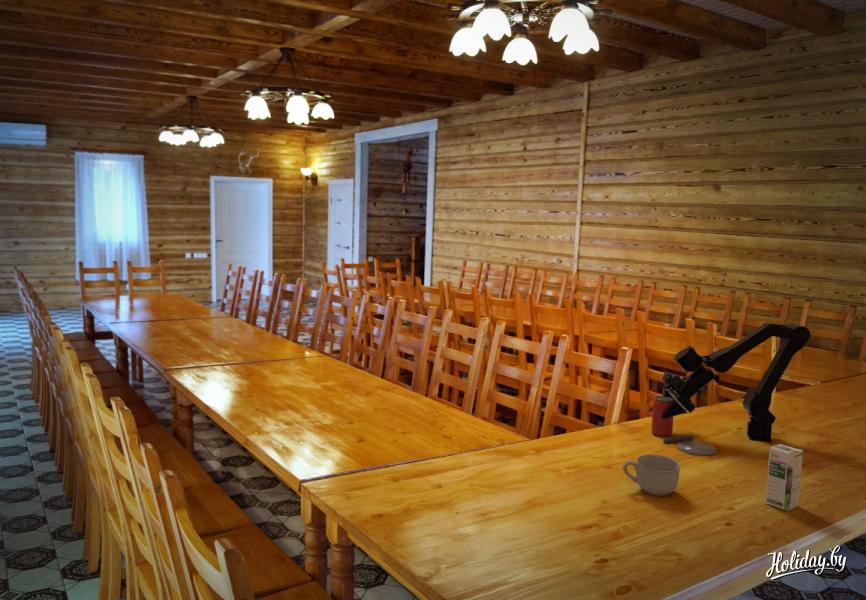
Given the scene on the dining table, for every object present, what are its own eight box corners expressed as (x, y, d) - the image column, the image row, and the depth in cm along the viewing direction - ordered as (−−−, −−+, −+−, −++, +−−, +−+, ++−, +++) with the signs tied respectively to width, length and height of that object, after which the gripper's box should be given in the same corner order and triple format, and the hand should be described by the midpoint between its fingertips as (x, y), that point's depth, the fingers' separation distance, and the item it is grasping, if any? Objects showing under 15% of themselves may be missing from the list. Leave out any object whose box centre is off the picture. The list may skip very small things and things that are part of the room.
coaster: (714, 445, 207) (714, 443, 207) (717, 457, 197) (717, 454, 197) (676, 441, 211) (676, 439, 211) (677, 452, 200) (677, 450, 200)
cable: (689, 439, 214) (689, 434, 213) (692, 441, 212) (692, 436, 212) (662, 443, 210) (662, 438, 210) (665, 444, 208) (665, 439, 208)
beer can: (673, 437, 214) (675, 401, 213) (652, 436, 216) (654, 400, 214) (670, 431, 221) (672, 396, 219) (650, 430, 222) (652, 395, 221)
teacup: (678, 486, 175) (679, 457, 174) (679, 502, 165) (680, 471, 164) (623, 479, 180) (624, 450, 179) (621, 494, 169) (622, 464, 168)
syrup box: (764, 503, 165) (768, 447, 163) (776, 498, 168) (780, 442, 167) (787, 512, 160) (792, 454, 158) (799, 506, 164) (804, 449, 162)
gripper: (671, 358, 224) (636, 388, 227) (686, 370, 206) (648, 403, 208) (693, 382, 224) (658, 412, 227) (711, 396, 206) (672, 429, 208)
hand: (658, 413), depth 218 cm, fingers open, 9 cm apart
